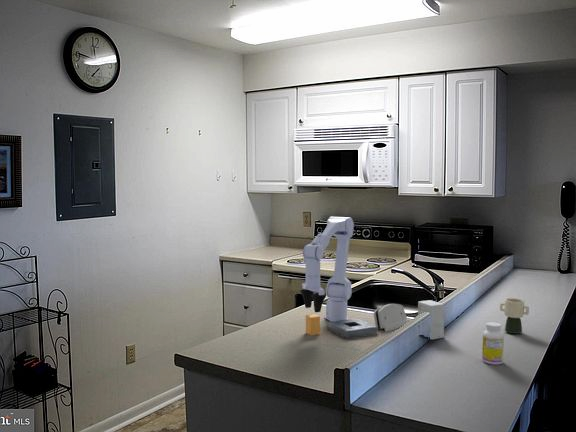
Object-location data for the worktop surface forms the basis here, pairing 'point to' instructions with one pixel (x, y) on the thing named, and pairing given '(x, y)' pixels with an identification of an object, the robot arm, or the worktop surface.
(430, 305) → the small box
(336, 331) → the grey square-hole board
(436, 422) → the worktop surface
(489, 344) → the supplement bottle
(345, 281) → the robot arm
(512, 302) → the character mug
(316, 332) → the block
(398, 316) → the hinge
